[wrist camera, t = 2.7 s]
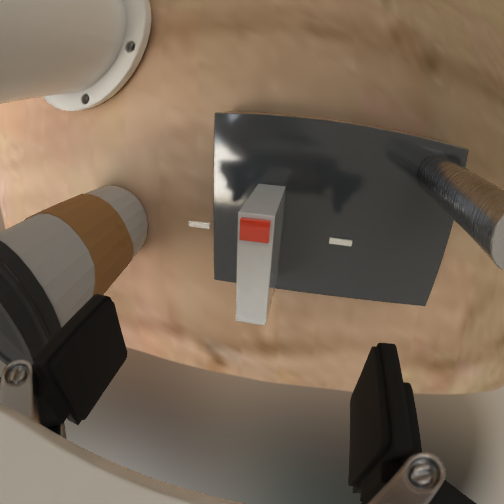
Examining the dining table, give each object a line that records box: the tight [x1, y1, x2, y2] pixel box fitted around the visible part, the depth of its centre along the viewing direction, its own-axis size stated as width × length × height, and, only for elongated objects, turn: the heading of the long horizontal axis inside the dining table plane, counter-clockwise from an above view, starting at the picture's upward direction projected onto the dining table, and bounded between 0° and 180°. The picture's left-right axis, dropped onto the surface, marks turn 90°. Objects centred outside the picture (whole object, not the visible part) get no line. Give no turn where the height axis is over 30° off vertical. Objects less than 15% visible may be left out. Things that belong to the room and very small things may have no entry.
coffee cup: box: [0, 185, 148, 366], centre depth 18 cm, size 8×8×15 cm
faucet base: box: [189, 111, 468, 306], centre depth 19 cm, size 17×11×4 cm, turn 87°
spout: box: [417, 155, 504, 269], centre depth 11 cm, size 7×2×9 cm, turn 87°
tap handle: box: [236, 184, 286, 325], centre depth 17 cm, size 6×2×5 cm, turn 177°
